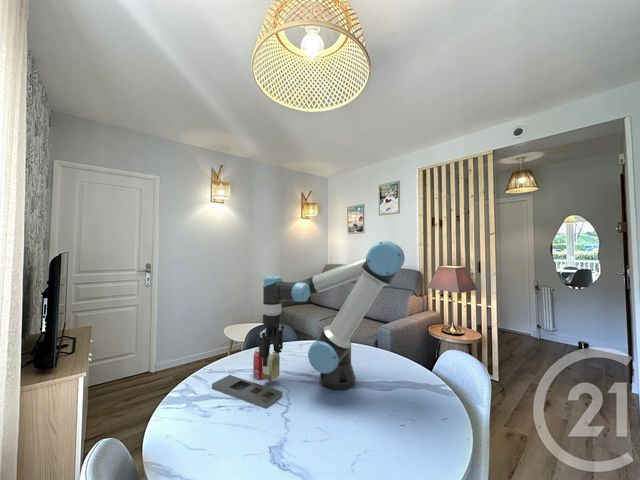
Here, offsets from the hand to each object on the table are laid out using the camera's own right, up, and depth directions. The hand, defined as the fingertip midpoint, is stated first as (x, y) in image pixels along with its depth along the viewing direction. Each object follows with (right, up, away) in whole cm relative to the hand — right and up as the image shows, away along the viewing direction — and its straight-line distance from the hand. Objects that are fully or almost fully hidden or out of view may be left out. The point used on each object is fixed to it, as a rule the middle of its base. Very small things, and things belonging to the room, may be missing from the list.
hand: (270, 370), depth 110 cm
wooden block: (0, -3, 0) cm, 3 cm away
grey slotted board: (-8, -5, -7) cm, 12 cm away
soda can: (-5, -6, +7) cm, 11 cm away
